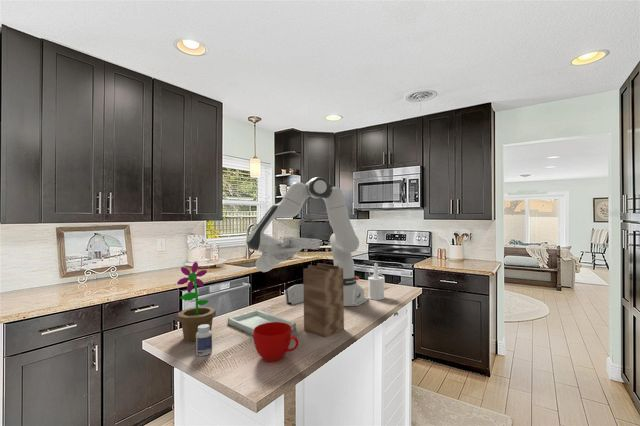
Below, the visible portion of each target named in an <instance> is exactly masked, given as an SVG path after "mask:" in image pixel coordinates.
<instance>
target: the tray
mask: <svg viewBox="0 0 640 426" xmlns="http://www.w3.org/2000/svg"><path fill="white" fill-rule="evenodd" d="M270 322H281V323H286V324H288V325H290V326H291V332H294V331H296V330H297V328H296V327H297V324H296V322H293V321H290V320H287V319H285V318H282V317H279V316H276V315H273V314H270V313H267V312H265V311H262V310H259V309H256V310H255V309H254V310H252V311H247V312H245V313H241V314H238V315H233V316H230V317H228V318H227V325H229V326H231V327H233V328H236V329H238V330H241V331H242V332H244V333H247V334H249V335H251V336H253V337H254V334H253V332H254V329H255V327H257V326H259V325H261V324H264V323H270Z"/></svg>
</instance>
